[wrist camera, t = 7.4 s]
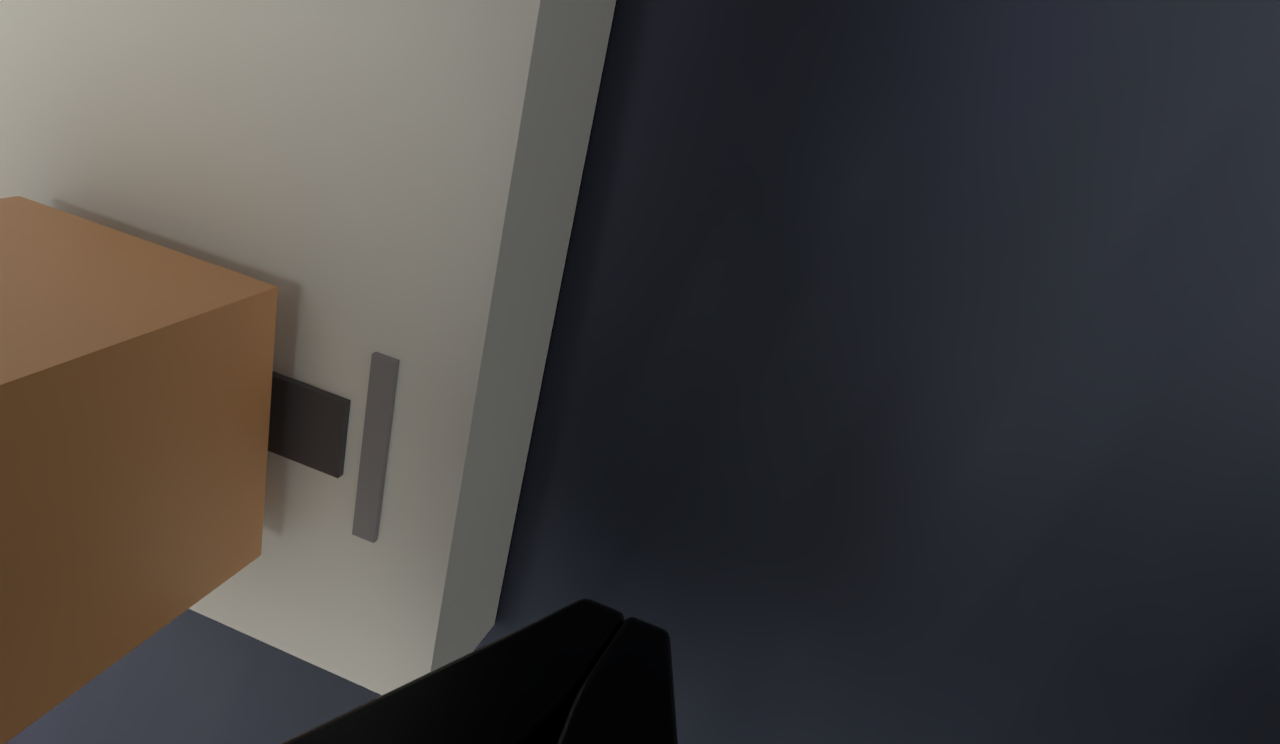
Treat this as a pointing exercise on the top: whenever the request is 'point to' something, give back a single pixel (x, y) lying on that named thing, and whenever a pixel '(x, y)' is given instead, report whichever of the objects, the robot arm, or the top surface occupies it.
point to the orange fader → (118, 444)
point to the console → (343, 266)
